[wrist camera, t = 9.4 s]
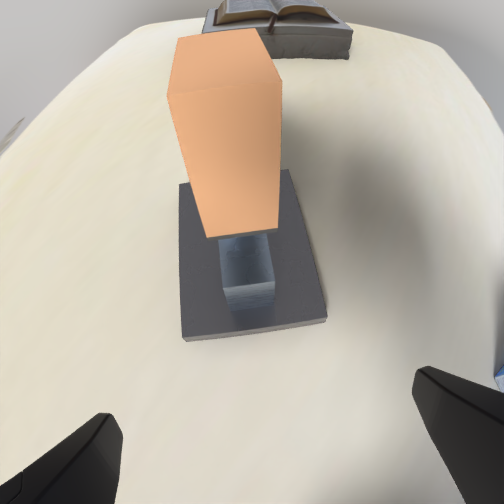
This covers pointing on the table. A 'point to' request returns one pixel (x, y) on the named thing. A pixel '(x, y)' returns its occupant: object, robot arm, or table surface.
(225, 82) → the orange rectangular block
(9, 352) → the table surface
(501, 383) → the medicine box
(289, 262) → the stand
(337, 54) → the bible
